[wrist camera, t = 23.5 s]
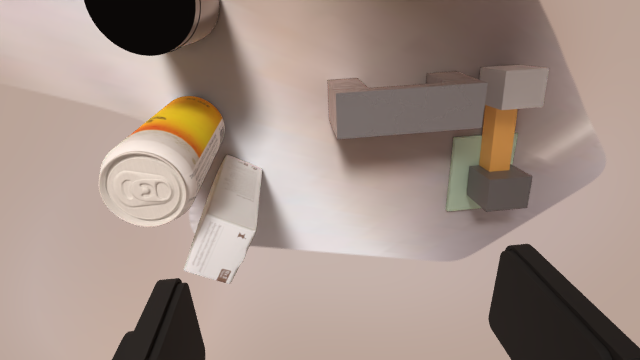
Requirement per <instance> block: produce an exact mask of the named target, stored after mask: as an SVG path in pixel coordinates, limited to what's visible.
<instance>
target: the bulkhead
mask: <svg viewBox="0 0 640 360" xmlns="http://www.w3.org/2000/svg"><path fill="white" fill-rule="evenodd" d="M327 84H328V108H329V121H330V123H331V126H332V128H333V130H334V133H335V135H336V138H337V139H348V138H361V137H374V136H387V135H400V134H412V133H425V132H438V131H451V130H463V129H476V128H482V121H483V114H484V107H485V100H486V93H487V86H488V82H485V81H482V80H479V79H477V78H474V77H471V76H468V75H465V74H462V73H460V72H457V71H451V72H437V73H427V76H426V84H418V85H404V86H390V87H376V88H368V87H367V86H366V85H365V84H364V83H362V82H361V81H360V80H359V79H358V78H349V79H335V80H327Z"/></svg>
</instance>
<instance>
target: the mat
mask: <svg viewBox="0 0 640 360" xmlns="http://www.w3.org/2000/svg"><path fill="white" fill-rule="evenodd" d="M517 137H518V133H516V132H515V133H514V140H513V147H512V154H511V162H510V164H511V165H512V164H513V158H514V153H515V148H516V142H517ZM481 142H482V135H475V136H463V137H453V146H452V156H451V165H450V174H449V183H448V192H447V202H446V210H447V211H457V210H468V209H479V208H481V207H480V206H479V205H478V204H477V203H476V202H474V201H473V200H472V199H471V198H470V197H469V196H467V187H468V176H469V166H475V165H479V161H480V151H481Z"/></svg>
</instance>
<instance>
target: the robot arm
mask: <svg viewBox="0 0 640 360" xmlns="http://www.w3.org/2000/svg"><path fill="white" fill-rule="evenodd" d="M489 324H490V327H491V329H492V331H493V332H494V334H495V335H496V337H497V338H498V340H499V341H500V343H501V344H502V346H503V347H504V349H505V350H506V352H507V354H508V355H509V357H510V358H511V360H640V348H639V347H638V346H637V345H636V344H635V343H634V342H632V341H631V340H630V339H629V338H628V337H627V336H626V335H625V334H624V333H623V332H622V331H621V330H620V329H619V328H618V327H617V326H616V325H615V324H614V323H612V322H611V321H610V320H609V319H608V318H607V317H606V316H605V315H604V314H603V313H602V312H601V311H600V310H599V309H598V308H597V307H596V306H595V305H594V304H592V303H591V302H590V301H589V300H588V299H587V298H586V297H585V296H584V295H583V294H582V293H581V292H580V291H579V290H578V289H577V288H576V287H574V286H573V285H572V284H571V283H570V282H569V281H568V280H567V279H566V278H565V277H564V276H563V275H562V274H561V273H560V272H559V271H557V269H556V268H555V267H553V266H552V265H551V264H550V263H549V262H548V261H547V260H546V259H545V258H544V257H543V256H542V255H541V254H540V253H539V252H538V251H537V250H536V249H535V248H533V247H532V246H531V245H529V244H521V245H511V246H508V247H507V248H506V250H505V251H503V252H502V253H501V255H500V261H499V266H498V271H497V276H496V281H495V287H494V292H493V297H492V302H491V307H490V313H489ZM112 360H205V347H204V343H203V339H202V336H201V332H200V328H199V324H198V320H197V316H196V312H195V309H194V305H193V301H192V297H191V293H190V289H189V286H188V284H187V283H182V281H181V280H180V279H179V278H176V279H166V280H159V281H158V282H157V283H156V285H155V287H154V289H153V291H152V293H151V296H150V298H149V300H148V302H147V304H146V306H145V308H144V311H143V313H142V315H141V317H140V319H139V321H138V324H137V326H136V328H135V330H134V331H131V332H128V333H126V334H125V336H124V337H123V339H122V341H121V343H120V345H119V347H118V349H117V351H116V353H115V355H114V357H113V359H112Z"/></svg>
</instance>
